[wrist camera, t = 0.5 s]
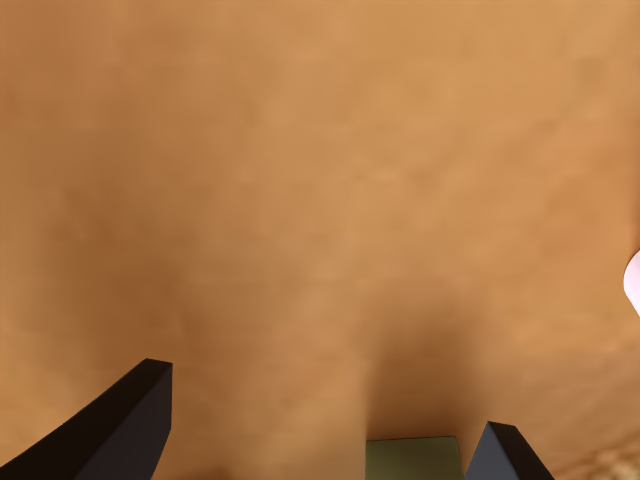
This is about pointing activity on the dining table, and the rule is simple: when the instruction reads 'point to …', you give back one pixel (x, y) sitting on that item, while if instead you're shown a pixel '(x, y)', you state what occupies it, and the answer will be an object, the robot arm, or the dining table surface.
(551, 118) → the dining table surface
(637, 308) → the smoothie
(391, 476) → the block
